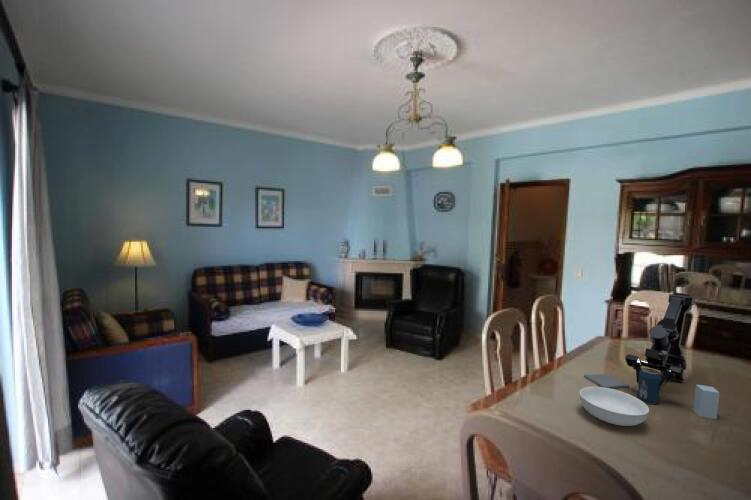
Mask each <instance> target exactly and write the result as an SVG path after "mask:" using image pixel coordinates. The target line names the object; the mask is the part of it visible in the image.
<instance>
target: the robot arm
mask: <svg viewBox="0 0 751 500" xmlns="http://www.w3.org/2000/svg"><path fill="white" fill-rule="evenodd" d="M695 300H696V299H695V297H693V295H692V294H690V293H682V292H681V293H680V292H673V293H670V294H668V301H667V302H668V305H667V308H666V311H665V314H664V317H663V318H662V319H661V320H659V321H657V323H656V325H655V326H652V327H651V328H649V329H648V334H649V338H650V342H651V343H652V345H651V347H650V348H645V352H644V358H645V361H644V360H641V359H640V357H639V356H638V355H634V354H631V353H630V354H629V353H628V354H627V355H625V361H626V364H627V366H628V367H630V368H633V370H635V375H636V383H637V384H638V380H639V372H640V371H641V369H642V367H644V368H648V369H653V370H656V371H658V372H659V375H660V377H661V381H660V383H659V386H658V389H660V390H661V389H662V388H663V387H664V386H665V385H667V384H668V383H671V382H673V383H682V384H683V382H684V381H685V376H686V374H685V370H687V360H686V358H685V356H684V353H685V352H684V351H683V348H682V346H681V344H682V338H683V332H684V327H685V320H686V316H687V314H688V313H689V312H690V311H691V310H692V309H693V306H694V305H695Z"/></svg>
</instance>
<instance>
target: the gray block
mask: <svg viewBox="0 0 751 500" xmlns="http://www.w3.org/2000/svg"><path fill="white" fill-rule="evenodd" d="M719 401H720V392H719V391H718V389H717V388H715V387H714V386H708V385H703V384H701V385H700V384H695V393H694V401H693V407H692V408H693V411H694V412H695V414H697V416H698V417H700V418H706V419H712V420H717V417H718V409H719Z"/></svg>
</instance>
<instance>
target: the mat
mask: <svg viewBox="0 0 751 500" xmlns="http://www.w3.org/2000/svg"><path fill="white" fill-rule="evenodd" d="M583 378H585V379H586V380H587V381H589V382H591V383H593V384H595V385H596V386H597V387H604V388H610V389H614V390H618V389H630V385H629V384H627V383H626V382H624V381H621V380H620V379H618V378H617V377H614V376H612V375H611V374H609V373H600V374H599V373H593V374H584V375H583Z"/></svg>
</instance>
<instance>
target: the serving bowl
mask: <svg viewBox="0 0 751 500" xmlns="http://www.w3.org/2000/svg"><path fill="white" fill-rule="evenodd" d="M579 400H580V402H581V405H582V406H583V407H584V409H585V410H586V411H587V412H588V413H589V414H590V415H591V416H593V417H595V418H597V419H599V420H601V421H602V422H606V423H608V424H613V425H616V426H622V427H624V426H625V427H634V426H638V425H640V424H641V423H643V422H645V420H646V419H647V417H648V415H649V413H650V408H649V407H648V405H647V403H645V402H642V401H641V400H639V398H638V397H635V396H633V394H632V395H631V394H629V393H626V392H623V391H621V390H618V389H610V388H604V387H600V386H585V387H583V388H581V389H580V390H579Z"/></svg>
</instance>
